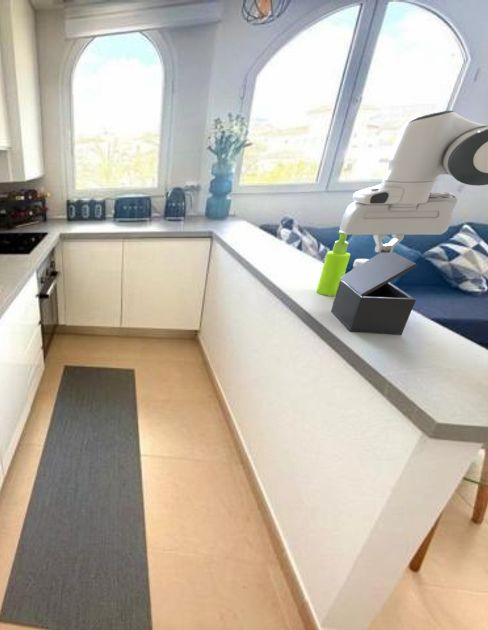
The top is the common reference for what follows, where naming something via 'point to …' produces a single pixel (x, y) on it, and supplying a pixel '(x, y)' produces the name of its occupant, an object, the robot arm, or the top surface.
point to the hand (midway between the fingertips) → (383, 252)
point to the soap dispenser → (334, 267)
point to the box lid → (377, 272)
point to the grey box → (373, 309)
